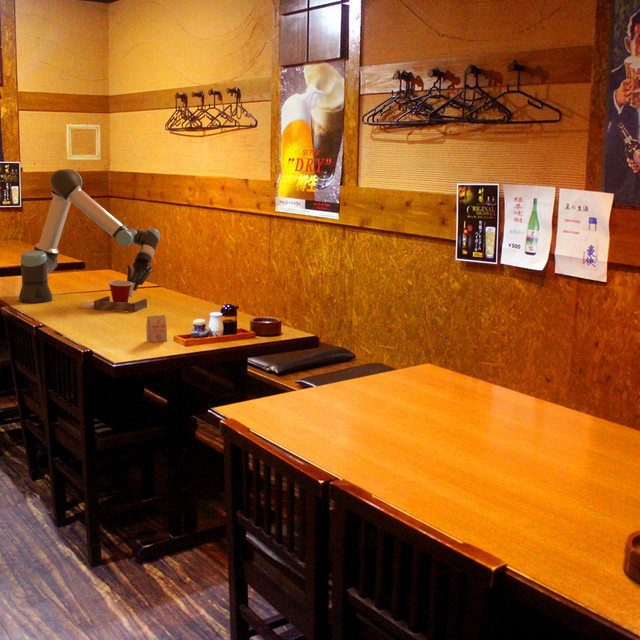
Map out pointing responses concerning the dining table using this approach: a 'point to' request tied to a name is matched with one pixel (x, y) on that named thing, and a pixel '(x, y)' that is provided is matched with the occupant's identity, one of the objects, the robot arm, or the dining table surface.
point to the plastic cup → (120, 290)
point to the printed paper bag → (156, 329)
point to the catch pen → (119, 305)
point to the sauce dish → (87, 305)
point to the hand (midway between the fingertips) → (129, 295)
